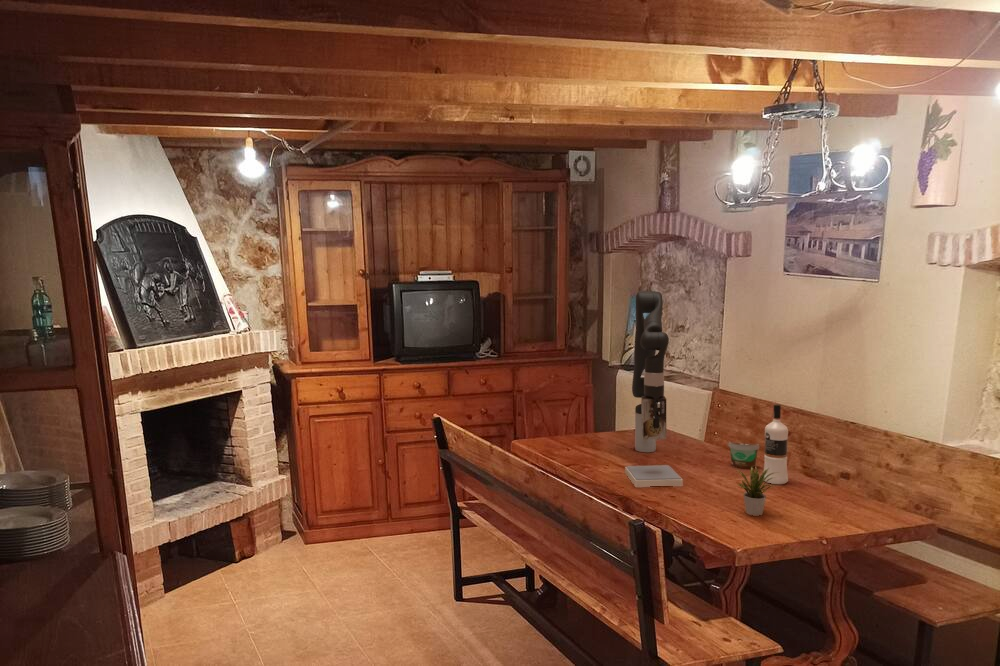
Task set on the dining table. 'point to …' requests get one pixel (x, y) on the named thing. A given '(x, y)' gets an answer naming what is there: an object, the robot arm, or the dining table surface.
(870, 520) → the dining table surface
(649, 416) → the coffee box
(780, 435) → the vodka
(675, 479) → the podium
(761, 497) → the house plant
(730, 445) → the food container
